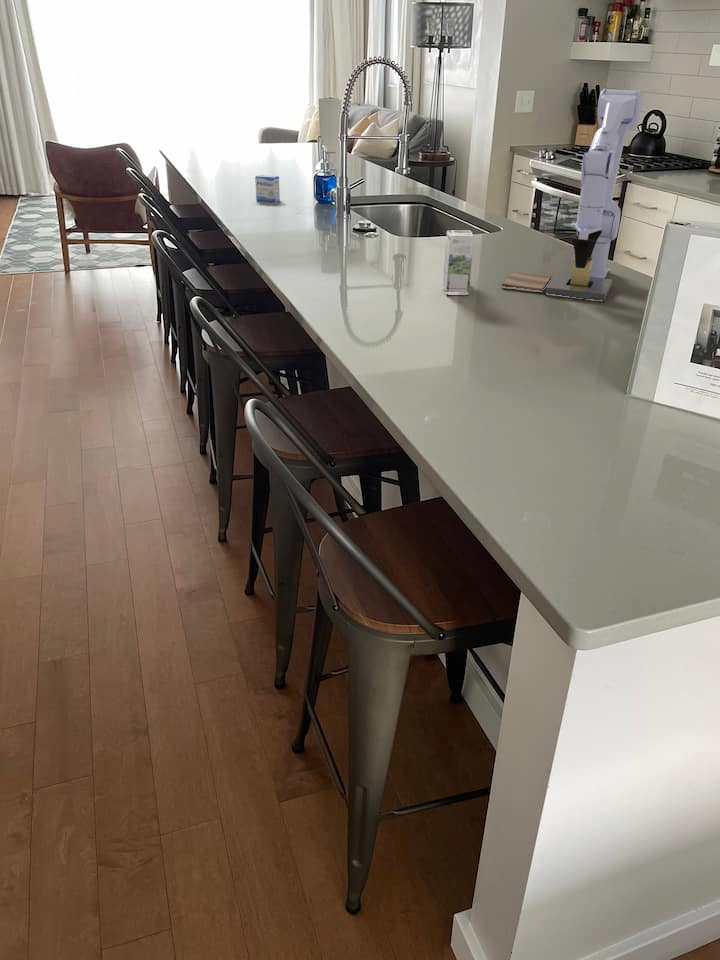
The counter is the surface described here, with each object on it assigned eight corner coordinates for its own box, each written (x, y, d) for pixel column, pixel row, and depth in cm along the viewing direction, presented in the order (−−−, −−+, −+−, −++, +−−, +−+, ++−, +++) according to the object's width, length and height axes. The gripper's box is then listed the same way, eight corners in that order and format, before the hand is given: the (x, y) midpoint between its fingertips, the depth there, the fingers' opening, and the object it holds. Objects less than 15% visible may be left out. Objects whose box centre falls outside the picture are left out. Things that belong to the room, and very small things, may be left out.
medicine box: (255, 200, 293) (254, 176, 289) (260, 198, 297) (259, 174, 293) (275, 202, 291) (274, 177, 287) (280, 200, 295) (279, 175, 291)
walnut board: (512, 276, 205) (512, 272, 205) (550, 281, 202) (551, 276, 201) (501, 288, 196) (502, 283, 195) (541, 293, 192) (542, 288, 192)
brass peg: (571, 288, 196) (576, 256, 192) (588, 290, 195) (593, 257, 191) (569, 292, 193) (573, 259, 189) (585, 294, 192) (590, 261, 188)
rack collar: (555, 281, 202) (556, 273, 201) (611, 287, 198) (612, 279, 197) (544, 295, 191) (545, 287, 190) (604, 302, 186) (605, 294, 185)
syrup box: (465, 289, 195) (470, 229, 188) (469, 296, 190) (474, 234, 183) (442, 289, 195) (446, 229, 188) (445, 296, 190) (449, 234, 182)
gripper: (578, 199, 191) (570, 255, 198) (569, 209, 180) (560, 269, 186) (608, 201, 189) (599, 258, 196) (600, 212, 177) (591, 272, 184)
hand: (582, 264), depth 191 cm, fingers open, 7 cm apart
